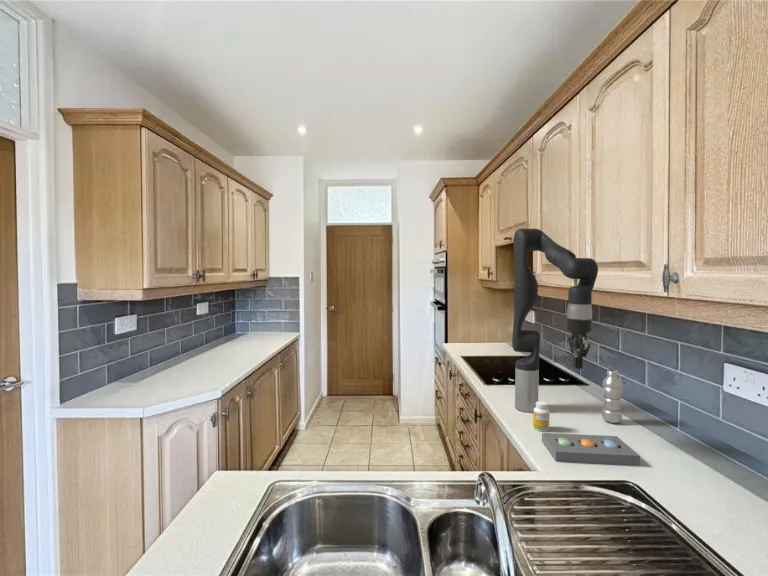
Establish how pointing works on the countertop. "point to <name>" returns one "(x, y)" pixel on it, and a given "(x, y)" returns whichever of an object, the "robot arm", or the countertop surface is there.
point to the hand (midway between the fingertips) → (578, 368)
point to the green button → (564, 442)
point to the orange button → (587, 443)
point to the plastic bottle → (612, 397)
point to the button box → (590, 450)
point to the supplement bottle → (541, 416)
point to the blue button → (610, 444)
